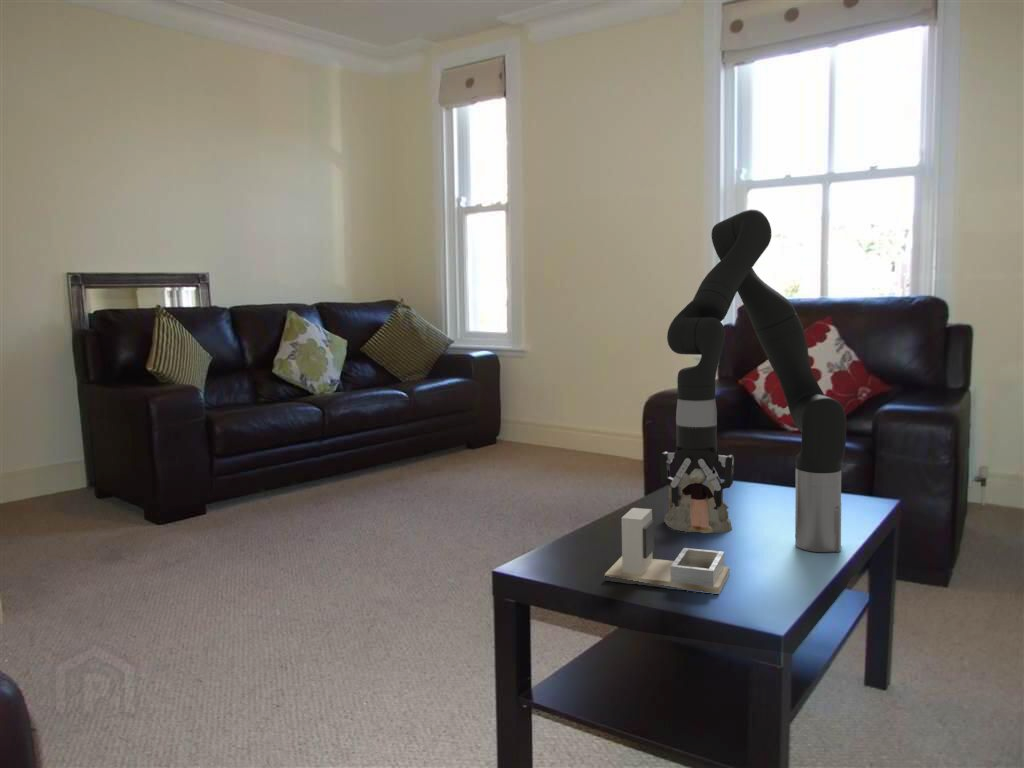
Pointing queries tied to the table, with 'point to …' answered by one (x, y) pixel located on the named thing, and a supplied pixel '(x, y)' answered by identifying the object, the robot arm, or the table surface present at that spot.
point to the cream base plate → (666, 576)
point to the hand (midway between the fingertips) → (696, 507)
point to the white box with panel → (637, 540)
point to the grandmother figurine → (699, 501)
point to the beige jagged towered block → (681, 515)
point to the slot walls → (694, 574)
